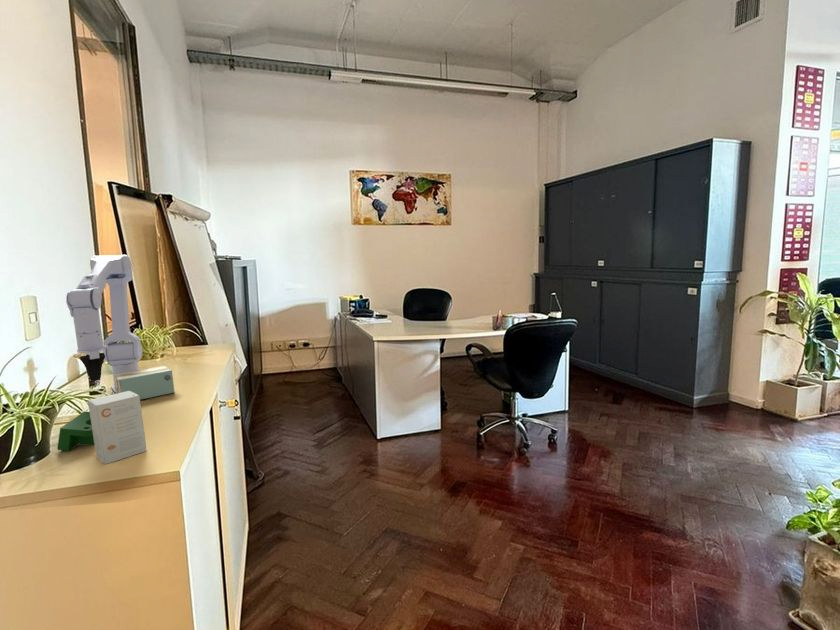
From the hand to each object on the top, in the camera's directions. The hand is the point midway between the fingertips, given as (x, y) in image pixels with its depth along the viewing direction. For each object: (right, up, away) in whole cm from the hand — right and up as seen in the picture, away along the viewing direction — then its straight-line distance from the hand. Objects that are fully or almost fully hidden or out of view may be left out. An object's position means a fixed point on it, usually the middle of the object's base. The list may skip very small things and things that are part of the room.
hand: (95, 380), depth 124 cm
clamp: (+12, -12, -19) cm, 25 cm away
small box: (+25, -13, -26) cm, 38 cm away
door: (+7, -7, +13) cm, 16 cm away
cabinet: (+3, -7, +17) cm, 19 cm away
